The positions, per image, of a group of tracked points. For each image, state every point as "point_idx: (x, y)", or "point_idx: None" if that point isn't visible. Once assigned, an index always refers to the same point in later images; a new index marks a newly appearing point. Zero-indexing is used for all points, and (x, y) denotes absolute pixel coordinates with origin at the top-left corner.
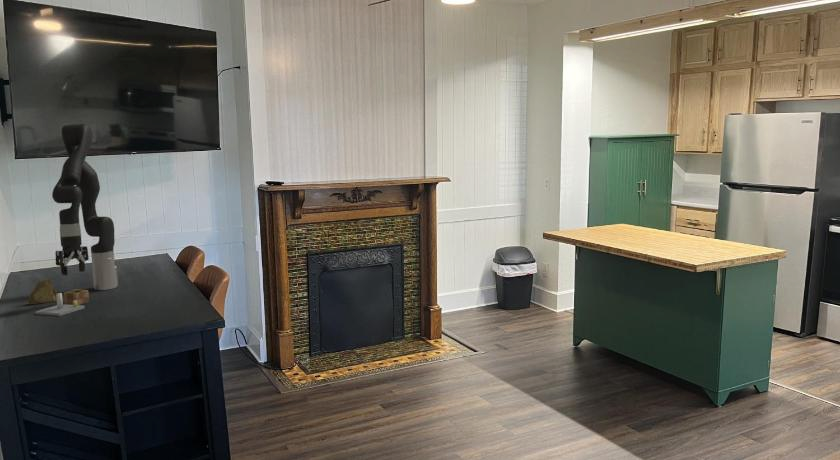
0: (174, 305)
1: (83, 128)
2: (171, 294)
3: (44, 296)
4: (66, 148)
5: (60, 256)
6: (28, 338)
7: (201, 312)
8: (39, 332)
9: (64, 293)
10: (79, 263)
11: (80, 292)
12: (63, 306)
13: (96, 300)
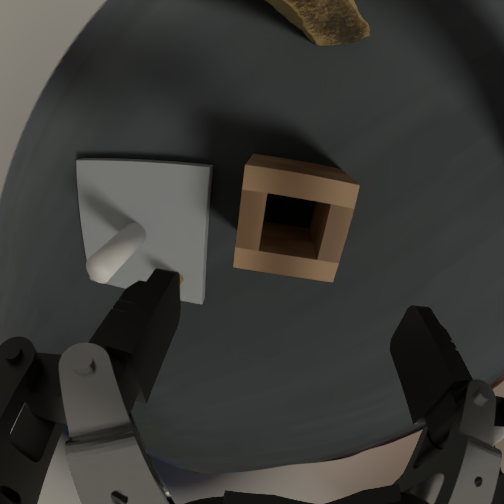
0: (275, 447)
1: None
2: (393, 413)
3: (275, 4)
4: None
5: (5, 486)
6: (5, 311)
7: (231, 468)
8: (20, 311)
9: (244, 172)
10: (443, 383)
11: (270, 272)
12: (168, 220)
13: (350, 264)
